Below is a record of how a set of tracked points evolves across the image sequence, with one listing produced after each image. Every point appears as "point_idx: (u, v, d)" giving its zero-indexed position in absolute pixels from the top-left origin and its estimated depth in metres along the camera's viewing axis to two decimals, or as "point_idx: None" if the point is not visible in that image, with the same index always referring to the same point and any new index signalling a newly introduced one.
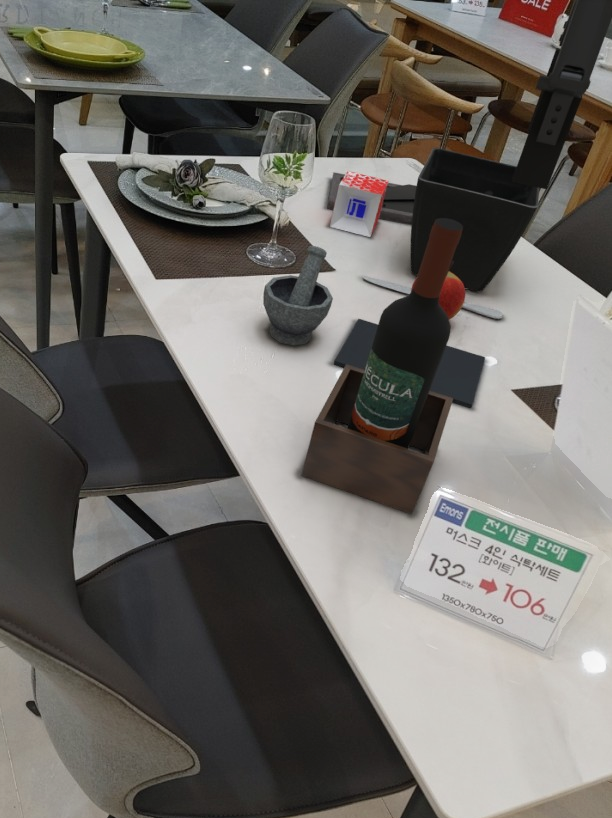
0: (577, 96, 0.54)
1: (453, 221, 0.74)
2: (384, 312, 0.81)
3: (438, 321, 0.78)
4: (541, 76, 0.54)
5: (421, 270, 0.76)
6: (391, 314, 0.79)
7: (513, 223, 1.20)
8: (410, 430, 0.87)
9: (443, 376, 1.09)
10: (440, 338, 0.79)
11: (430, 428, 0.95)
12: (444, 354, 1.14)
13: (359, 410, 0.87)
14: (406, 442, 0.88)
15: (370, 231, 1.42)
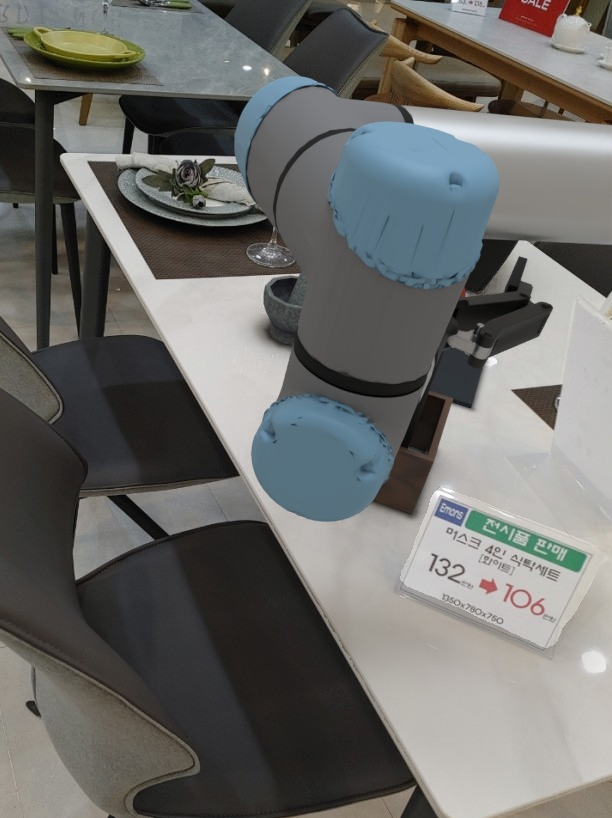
0: (527, 296, 0.60)
1: None
2: None
3: None
4: None
5: None
6: None
7: None
8: (410, 430, 0.87)
9: (443, 376, 1.09)
10: None
11: (430, 428, 0.95)
12: (444, 354, 1.14)
13: None
14: (406, 442, 0.88)
15: None
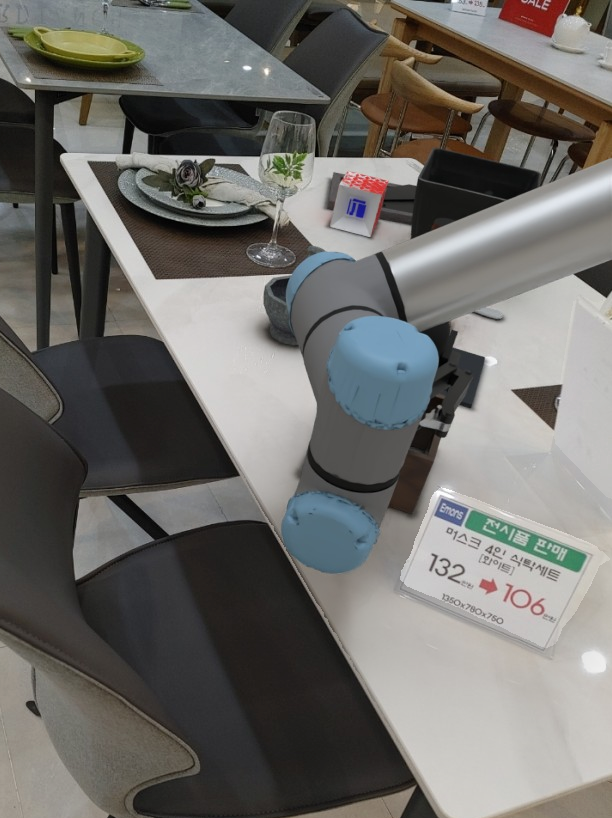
0: None
1: (453, 221, 0.74)
2: None
3: None
4: None
5: None
6: None
7: None
8: None
9: None
10: (440, 338, 0.79)
11: (430, 428, 0.95)
12: None
13: None
14: None
15: (370, 231, 1.42)
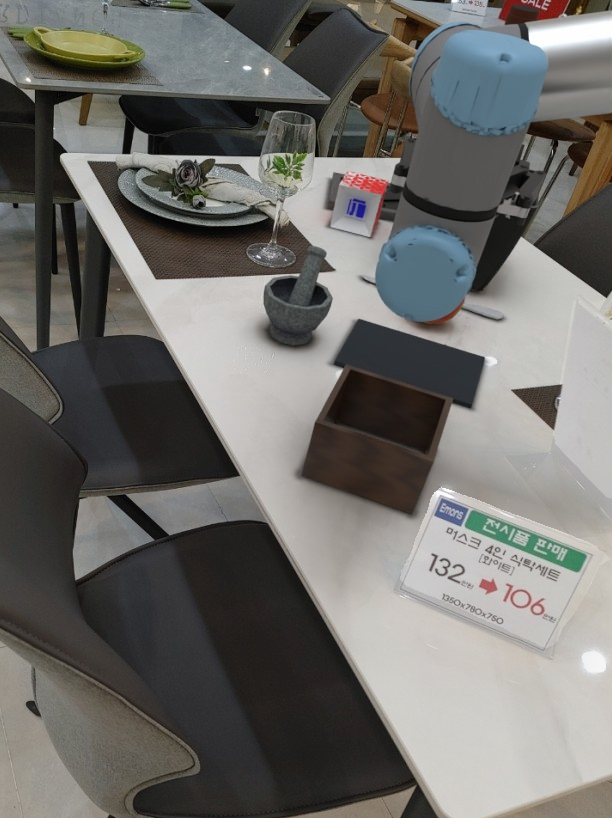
0: None
1: (529, 7, 0.74)
2: None
3: None
4: None
5: None
6: None
7: None
8: None
9: (443, 376, 1.09)
10: None
11: (430, 428, 0.95)
12: (444, 354, 1.14)
13: None
14: None
15: (370, 231, 1.42)
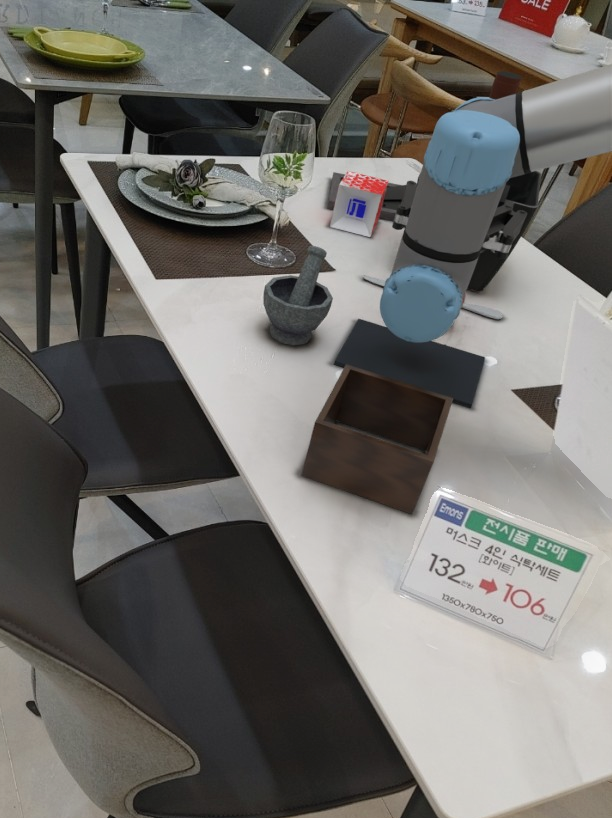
0: None
1: (512, 73, 0.87)
2: None
3: None
4: None
5: None
6: None
7: None
8: None
9: (443, 376, 1.09)
10: None
11: (430, 428, 0.95)
12: (444, 354, 1.14)
13: None
14: None
15: (370, 231, 1.42)
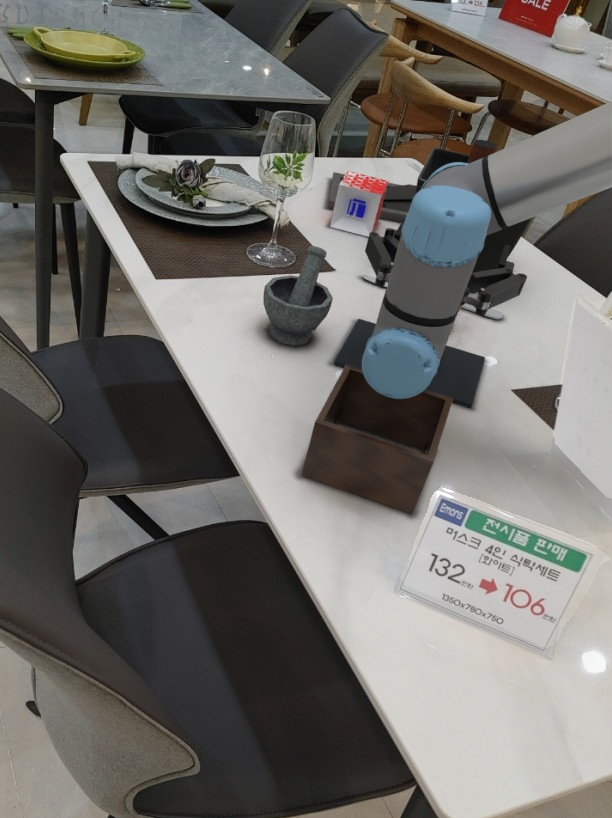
0: None
1: (488, 142, 0.92)
2: None
3: None
4: None
5: None
6: None
7: None
8: None
9: (443, 376, 1.09)
10: None
11: (430, 428, 0.95)
12: (444, 354, 1.14)
13: None
14: None
15: (370, 231, 1.42)
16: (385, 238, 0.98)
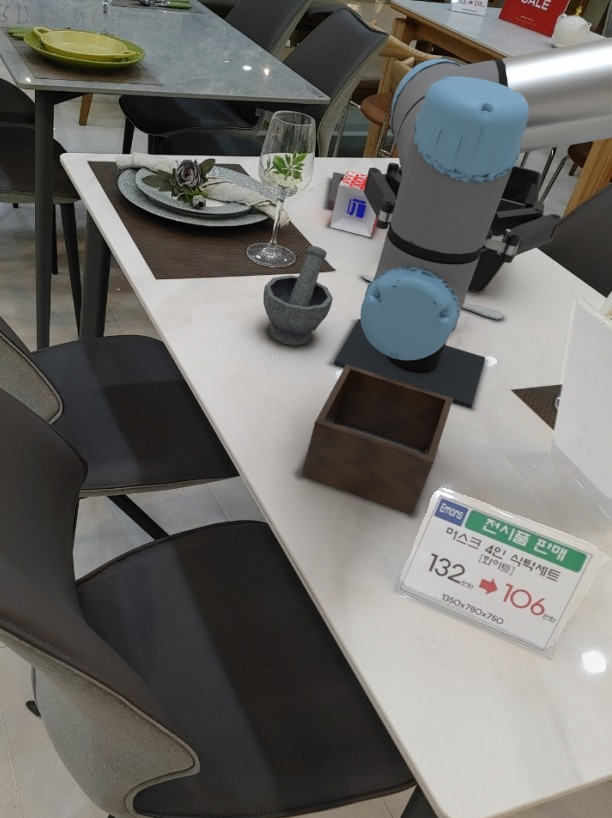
0: None
1: None
2: None
3: None
4: None
5: None
6: None
7: None
8: None
9: (443, 376, 1.09)
10: None
11: (430, 428, 0.95)
12: (444, 354, 1.14)
13: None
14: None
15: (370, 231, 1.42)
16: (388, 175, 0.81)
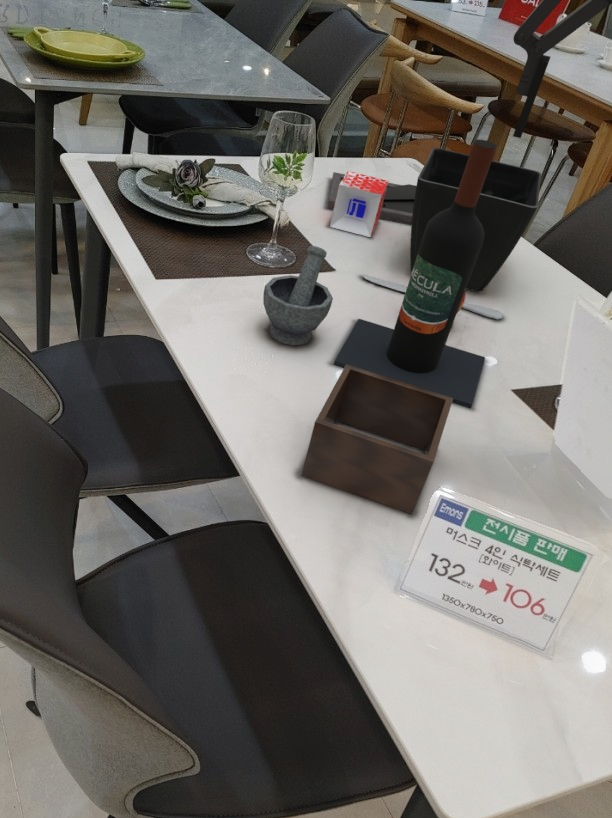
0: (531, 54, 0.70)
1: (488, 142, 0.92)
2: (429, 222, 0.99)
3: (474, 227, 0.96)
4: None
5: (462, 183, 0.94)
6: (436, 222, 0.97)
7: (513, 223, 1.20)
8: (448, 325, 1.05)
9: (443, 376, 1.09)
10: (476, 241, 0.97)
11: (430, 428, 0.95)
12: (444, 354, 1.14)
13: (406, 309, 1.05)
14: (444, 336, 1.06)
15: (370, 231, 1.42)
16: None
